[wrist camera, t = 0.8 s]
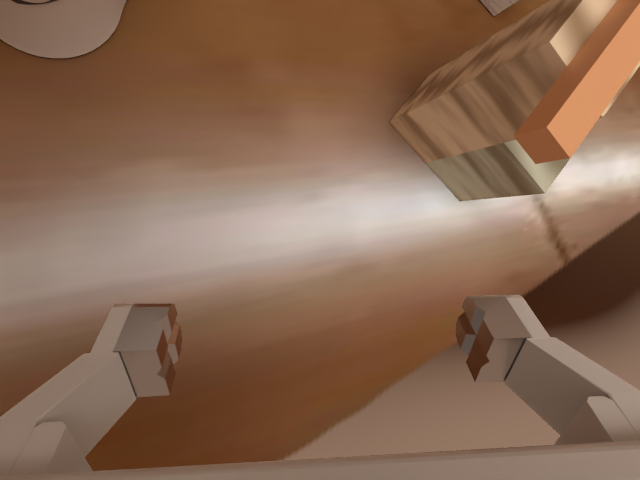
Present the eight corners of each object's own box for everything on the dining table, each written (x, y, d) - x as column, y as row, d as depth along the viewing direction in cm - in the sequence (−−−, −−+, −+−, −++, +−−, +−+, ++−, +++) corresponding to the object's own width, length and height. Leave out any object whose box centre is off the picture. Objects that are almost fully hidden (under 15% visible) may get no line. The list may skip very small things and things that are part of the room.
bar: (535, 164, 32) (570, 157, 29) (513, 136, 31) (546, 127, 28) (666, -14, 36) (708, -35, 33) (650, -43, 35) (691, -66, 33)
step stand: (459, 201, 61) (649, 183, 36) (388, 122, 57) (549, 41, 32) (496, 153, 63) (700, 106, 38) (430, 73, 59) (612, -38, 34)
